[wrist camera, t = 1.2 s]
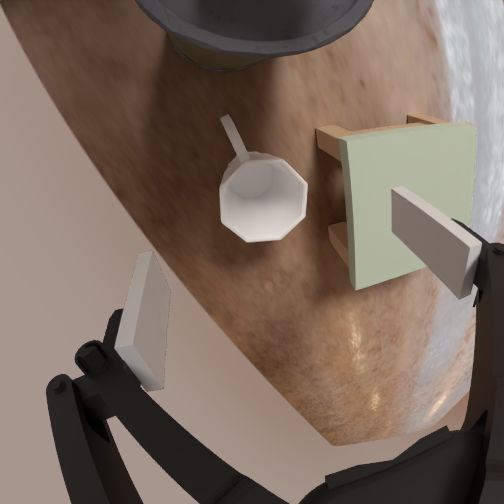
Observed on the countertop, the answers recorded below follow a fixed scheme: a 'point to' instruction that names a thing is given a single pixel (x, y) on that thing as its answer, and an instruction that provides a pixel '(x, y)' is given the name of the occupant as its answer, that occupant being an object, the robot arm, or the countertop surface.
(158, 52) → the countertop surface
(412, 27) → the countertop surface
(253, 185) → the cup
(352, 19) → the canister
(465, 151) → the stool
